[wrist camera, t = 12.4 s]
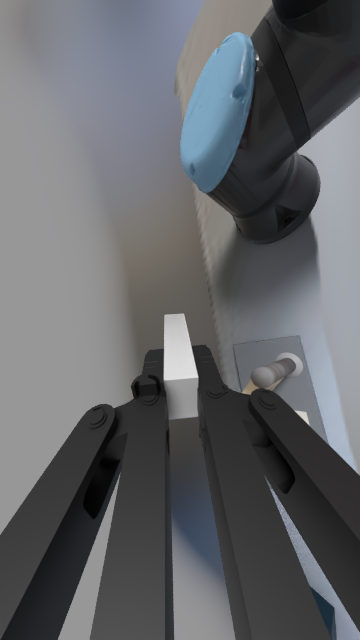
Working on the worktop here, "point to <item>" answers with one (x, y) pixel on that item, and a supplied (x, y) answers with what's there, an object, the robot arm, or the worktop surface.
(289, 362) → the beige upright panel
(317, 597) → the watch
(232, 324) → the worktop surface
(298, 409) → the grey rectangular base plate
